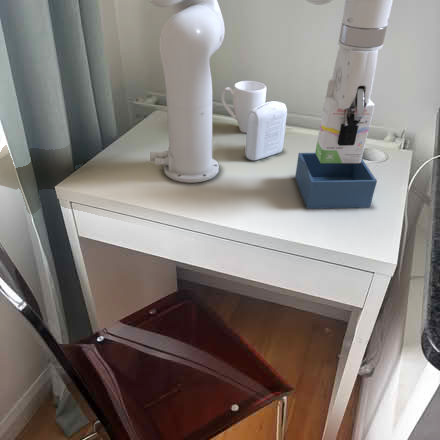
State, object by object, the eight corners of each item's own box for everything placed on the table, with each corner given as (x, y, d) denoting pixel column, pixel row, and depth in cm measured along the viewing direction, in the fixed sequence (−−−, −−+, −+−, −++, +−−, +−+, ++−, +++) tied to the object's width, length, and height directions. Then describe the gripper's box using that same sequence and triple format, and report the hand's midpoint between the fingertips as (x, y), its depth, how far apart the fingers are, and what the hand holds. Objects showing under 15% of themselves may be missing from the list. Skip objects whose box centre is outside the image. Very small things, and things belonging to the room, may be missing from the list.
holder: (307, 208, 93) (311, 182, 89) (295, 178, 103) (298, 152, 99) (369, 207, 94) (377, 181, 90) (352, 177, 104) (357, 152, 100)
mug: (267, 127, 124) (271, 83, 117) (256, 138, 119) (259, 93, 111) (227, 119, 128) (228, 76, 120) (215, 130, 122) (215, 85, 115)
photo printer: (273, 146, 115) (278, 95, 107) (285, 152, 113) (291, 101, 105) (242, 156, 111) (245, 104, 102) (254, 163, 108) (257, 110, 100)
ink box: (319, 164, 91) (332, 87, 81) (314, 153, 95) (326, 78, 85) (362, 163, 92) (380, 87, 82) (355, 153, 95) (371, 78, 85)
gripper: (328, 25, 84) (313, 122, 96) (354, 49, 72) (333, 158, 84) (368, 25, 85) (348, 122, 97) (400, 49, 72) (373, 157, 84)
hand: (341, 137), depth 90 cm, fingers closed on ink box, 5 cm apart
